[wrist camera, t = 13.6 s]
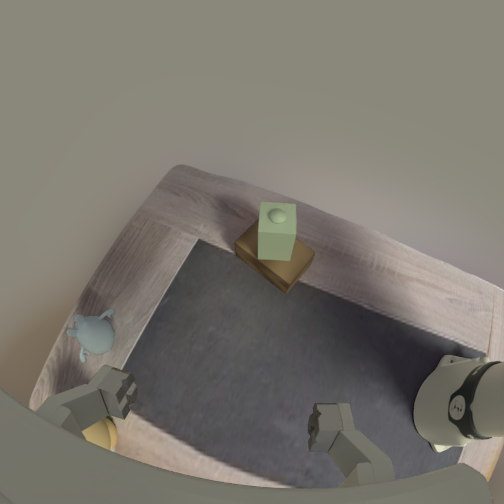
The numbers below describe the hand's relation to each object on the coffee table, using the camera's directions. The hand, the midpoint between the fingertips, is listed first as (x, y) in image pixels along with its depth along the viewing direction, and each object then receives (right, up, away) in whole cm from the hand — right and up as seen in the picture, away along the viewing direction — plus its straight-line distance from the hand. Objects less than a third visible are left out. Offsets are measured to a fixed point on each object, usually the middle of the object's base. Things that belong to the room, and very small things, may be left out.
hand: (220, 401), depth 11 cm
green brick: (+5, +7, +34) cm, 35 cm away
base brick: (+5, +5, +38) cm, 39 cm away
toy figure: (-23, -9, +31) cm, 40 cm away
